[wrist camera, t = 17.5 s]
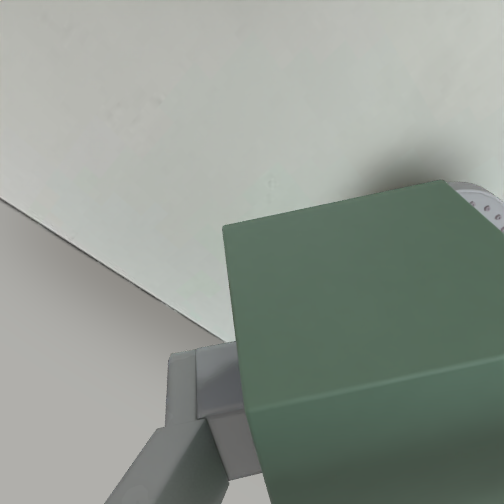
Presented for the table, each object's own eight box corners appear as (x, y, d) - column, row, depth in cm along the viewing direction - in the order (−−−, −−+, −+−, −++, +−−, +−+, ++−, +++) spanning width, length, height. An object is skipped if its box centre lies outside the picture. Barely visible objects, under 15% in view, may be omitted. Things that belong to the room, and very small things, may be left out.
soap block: (258, 376, 12) (291, 578, 8) (221, 224, 9) (244, 411, 5) (433, 339, 12) (550, 523, 8) (443, 177, 9) (619, 332, 5)
